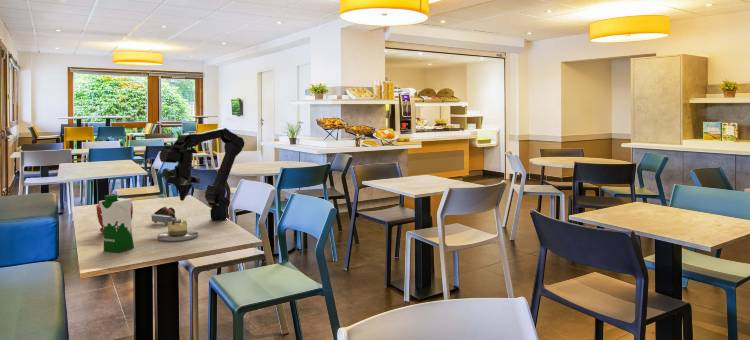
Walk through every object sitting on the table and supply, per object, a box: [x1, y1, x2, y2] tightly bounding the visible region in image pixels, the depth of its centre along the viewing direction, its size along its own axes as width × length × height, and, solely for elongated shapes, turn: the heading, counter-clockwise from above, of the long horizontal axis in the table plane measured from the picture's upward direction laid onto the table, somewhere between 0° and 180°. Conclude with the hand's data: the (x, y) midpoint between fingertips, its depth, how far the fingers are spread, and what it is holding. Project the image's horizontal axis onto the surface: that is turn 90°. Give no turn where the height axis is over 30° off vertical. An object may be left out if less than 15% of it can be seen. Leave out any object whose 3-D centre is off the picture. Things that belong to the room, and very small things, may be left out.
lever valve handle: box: [151, 214, 188, 236], centre depth 209 cm, size 16×7×6 cm, turn 66°
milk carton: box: [98, 193, 135, 254], centre depth 189 cm, size 9×9×20 cm
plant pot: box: [96, 203, 134, 234], centre depth 215 cm, size 13×13×12 cm
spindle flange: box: [156, 218, 199, 243], centre depth 207 cm, size 15×15×7 cm
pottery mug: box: [151, 206, 177, 224], centre depth 233 cm, size 12×10×8 cm
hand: (182, 200), depth 223 cm, fingers closed
